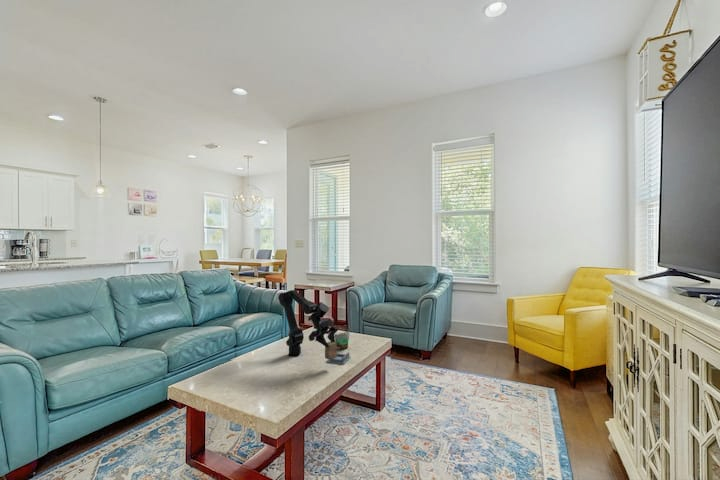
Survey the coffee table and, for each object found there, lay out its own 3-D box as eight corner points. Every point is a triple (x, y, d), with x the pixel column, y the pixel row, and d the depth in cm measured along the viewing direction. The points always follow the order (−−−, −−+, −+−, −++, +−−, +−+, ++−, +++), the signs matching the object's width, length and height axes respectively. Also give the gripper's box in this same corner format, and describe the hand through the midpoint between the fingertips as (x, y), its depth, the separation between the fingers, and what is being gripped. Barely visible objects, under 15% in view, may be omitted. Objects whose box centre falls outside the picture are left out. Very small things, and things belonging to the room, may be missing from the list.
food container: (341, 351, 208) (341, 336, 208) (334, 349, 212) (334, 334, 212) (353, 346, 218) (353, 331, 218) (346, 345, 222) (346, 330, 222)
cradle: (326, 362, 190) (326, 356, 190) (333, 355, 201) (333, 350, 201) (344, 364, 187) (344, 358, 187) (350, 357, 197) (350, 352, 197)
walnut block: (324, 358, 181) (325, 343, 181) (331, 355, 184) (331, 341, 184) (329, 359, 178) (330, 345, 178) (336, 357, 182) (336, 342, 182)
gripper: (312, 316, 178) (325, 341, 170) (336, 311, 191) (350, 334, 184) (302, 328, 183) (315, 353, 175) (327, 322, 197) (340, 345, 189)
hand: (331, 345), depth 181 cm, fingers closed on walnut block, 5 cm apart
